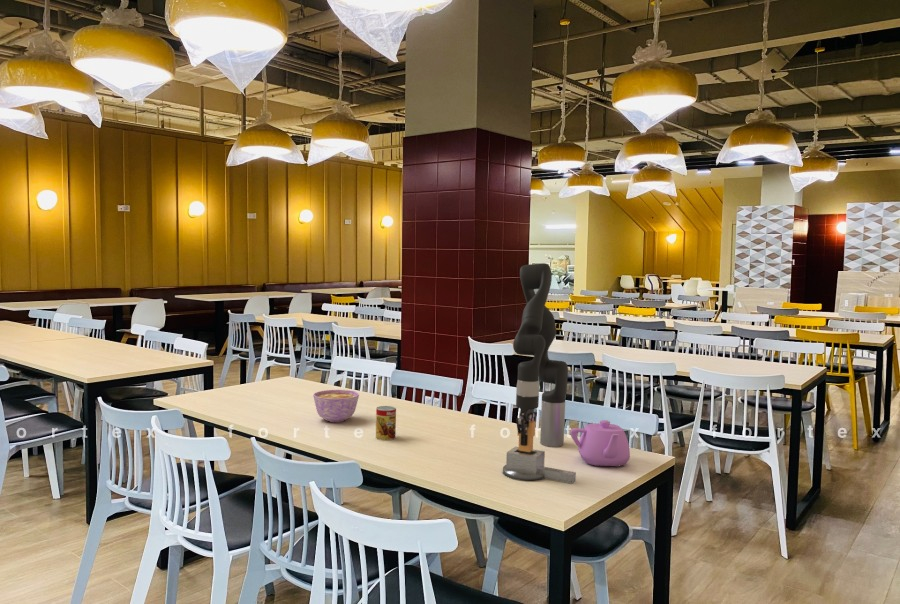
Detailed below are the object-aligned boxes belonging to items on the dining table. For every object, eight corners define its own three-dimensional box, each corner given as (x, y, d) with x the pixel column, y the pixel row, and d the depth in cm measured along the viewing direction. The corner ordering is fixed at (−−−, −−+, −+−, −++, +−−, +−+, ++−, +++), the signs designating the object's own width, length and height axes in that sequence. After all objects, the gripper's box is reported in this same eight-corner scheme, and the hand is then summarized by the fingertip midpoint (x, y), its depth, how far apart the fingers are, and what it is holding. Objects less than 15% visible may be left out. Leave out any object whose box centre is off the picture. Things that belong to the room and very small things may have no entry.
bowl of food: (367, 418, 287) (368, 393, 287) (340, 428, 270) (340, 400, 269) (332, 412, 297) (332, 388, 296) (303, 421, 279) (303, 395, 278)
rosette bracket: (512, 464, 227) (513, 443, 226) (580, 476, 216) (581, 454, 215) (495, 475, 214) (496, 453, 213) (567, 489, 202) (568, 466, 202)
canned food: (392, 441, 252) (392, 410, 252) (373, 439, 254) (373, 409, 253) (397, 435, 260) (398, 406, 259) (379, 434, 262) (379, 405, 261)
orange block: (520, 448, 219) (521, 419, 218) (534, 450, 216) (535, 421, 216) (517, 450, 216) (518, 420, 216) (531, 452, 214) (532, 422, 213)
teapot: (564, 454, 240) (565, 415, 239) (619, 455, 241) (621, 415, 240) (578, 474, 217) (580, 430, 216) (640, 475, 218) (642, 431, 217)
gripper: (524, 388, 223) (522, 437, 224) (509, 395, 211) (507, 447, 212) (545, 391, 220) (543, 441, 221) (530, 398, 207) (528, 451, 208)
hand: (525, 443), depth 216 cm, fingers closed on orange block, 3 cm apart
